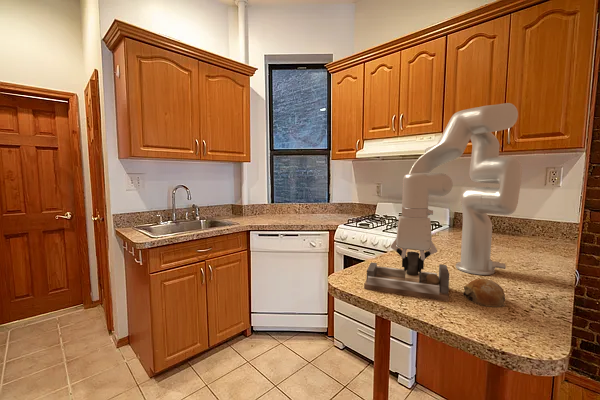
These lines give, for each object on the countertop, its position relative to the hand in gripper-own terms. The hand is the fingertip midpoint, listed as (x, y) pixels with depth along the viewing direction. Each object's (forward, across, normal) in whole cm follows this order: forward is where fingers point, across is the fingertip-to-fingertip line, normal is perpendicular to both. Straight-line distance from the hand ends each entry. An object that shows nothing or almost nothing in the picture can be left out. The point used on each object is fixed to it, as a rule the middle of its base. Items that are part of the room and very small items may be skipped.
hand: (412, 269), depth 90 cm
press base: (+6, +2, 0) cm, 6 cm away
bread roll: (+6, -19, +1) cm, 20 cm away
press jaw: (+4, 0, 0) cm, 4 cm away
